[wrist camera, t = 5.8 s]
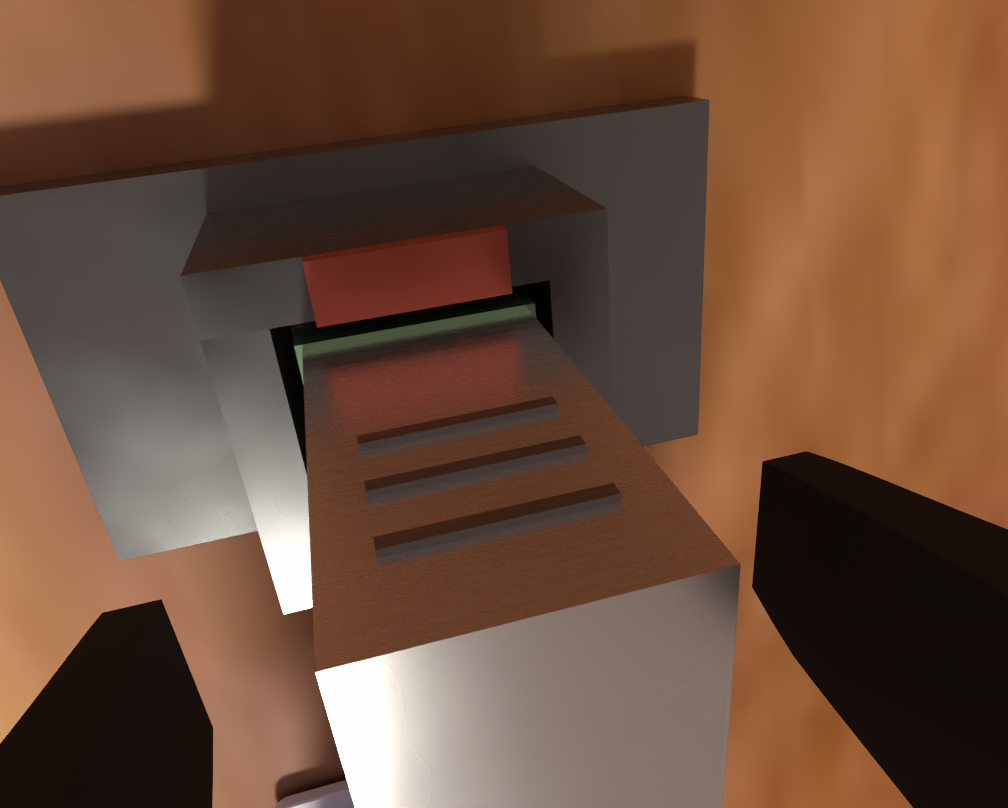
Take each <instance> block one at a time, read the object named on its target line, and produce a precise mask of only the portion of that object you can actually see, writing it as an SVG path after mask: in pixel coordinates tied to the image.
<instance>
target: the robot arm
mask: <svg viewBox="0 0 1008 808" xmlns="http://www.w3.org/2000/svg"><path fill="white" fill-rule="evenodd" d="M752 588H753V589H754V591H755V593H756V594H757V596H758V598H759V600H760V601H761V603H762V605H763V607H764V608H765V610H766V612H767V613H768V615H769V617H770V619H771V620H772V622H773V624H774V626H775V627H776V629H777V630H778V632H779V634H780V635H781V637H782V638H783V640H784V641H785V643H786V645H787V646H788V648H789V649H790V651H791V653H792V654H793V656H794V657H795V659H796V660H797V661H798V662H799V664H800V665H801V666H802V668H803V669H804V670H805V672H806V673H807V674H808V676H809V677H810V678H811V679H812V681H813V682H814V683H815V684H816V686H817V687H818V688H819V690H820V691H821V692H822V693H823V695H824V696H825V697H826V699H827V700H828V701H829V702H830V704H831V705H832V706H833V707H834V709H835V710H836V711H837V713H838V714H839V715H840V716H841V718H842V719H843V720H844V721H845V723H846V724H847V725H848V726H849V728H850V729H851V730H852V731H853V733H854V734H855V735H856V736H857V738H858V739H859V740H860V741H861V743H862V744H863V745H864V746H865V748H866V749H867V750H868V751H869V753H870V754H871V755H872V756H873V758H874V759H875V760H876V761H877V763H878V764H879V765H880V767H881V768H882V769H883V770H884V772H885V773H886V774H887V775H888V777H889V778H890V779H891V780H892V782H893V783H894V784H895V785H896V787H897V788H898V789H899V790H900V792H901V793H902V794H903V795H904V797H905V798H906V799H907V800H908V802H909V803H910V804H911V805H912V807H913V808H1008V530H1007V529H1005V528H1002V527H1000V526H997V525H995V524H992V523H989V522H987V521H984V520H982V519H979V518H977V517H974V516H972V515H969V514H967V513H964V512H962V511H959V510H957V509H954V508H952V507H949V506H947V505H944V504H942V503H939V502H937V501H934V500H932V499H929V498H927V497H925V496H922V495H920V494H917V493H915V492H912V491H910V490H907V489H905V488H902V487H900V486H897V485H895V484H893V483H890V482H888V481H885V480H883V479H880V478H878V477H875V476H873V475H870V474H868V473H865V472H863V471H860V470H857V469H855V468H852V467H850V466H847V465H844V464H842V463H839V462H836V461H834V460H831V459H828V458H825V457H822V456H819V455H816V454H813V453H810V452H807V451H806V452H802V453H797V454H793V455H789V456H784V457H780V458H776V459H771V460H767V461H763V464H762V476H761V488H760V500H759V512H758V524H757V536H756V548H755V560H754V572H753V584H752ZM212 790H213V727H212V724H211V722H210V719H209V717H208V714H207V712H206V709H205V707H204V704H203V702H202V699H201V697H200V694H199V692H198V689H197V687H196V684H195V682H194V679H193V677H192V674H191V672H190V669H189V667H188V664H187V662H186V659H185V657H184V654H183V652H182V649H181V647H180V644H179V642H178V640H177V637H176V635H175V632H174V630H173V627H172V625H171V622H170V620H169V617H168V615H167V612H166V610H165V607H164V605H163V602H162V600H157V601H152V602H148V603H143V604H139V605H135V606H130V607H126V608H122V609H117V610H113V611H109V612H104V613H102V614H101V615H100V616H99V618H98V619H97V620H96V621H95V622H94V624H93V625H92V626H91V627H90V629H89V630H88V631H87V632H86V634H85V635H84V636H83V638H82V639H81V640H80V642H79V643H78V644H77V645H76V647H75V648H74V649H73V651H72V652H71V653H70V655H69V656H68V657H67V658H66V660H65V661H64V662H63V664H62V665H61V666H60V668H59V669H58V670H57V672H56V673H55V674H54V675H53V677H52V678H51V679H50V681H49V682H48V683H47V685H46V686H45V687H44V689H43V690H42V691H41V692H40V694H39V695H38V696H37V698H36V699H35V700H34V702H33V703H32V704H31V705H30V707H29V708H28V709H27V711H26V712H25V713H24V714H23V716H22V717H21V718H20V720H19V721H18V722H17V723H16V725H15V726H14V727H13V728H12V730H11V731H10V732H9V734H8V735H7V736H6V737H5V739H4V740H3V741H2V742H1V744H0V808H212ZM275 808H355V807H354V803H353V800H352V796H351V793H350V790H349V786H348V783H347V780H344V781H340V782H337V783H333V784H330V785H326V786H322V787H319V788H315V789H312V790H308V791H305V792H301V793H298V794H294V795H290V796H288V797H285V798H283V799H282V800H281V801H279V802H278V803H277V805H276V807H275Z"/></svg>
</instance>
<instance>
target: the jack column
mask: <svg viewBox="0 0 1008 808" xmlns="http://www.w3.org/2000/svg"><path fill="white" fill-rule="evenodd" d="M294 348H295V352H296V356H297V361H298V365H299V369H300V373H301V377H302V381H303V385H304V409H305V434H306V458H307V483H308V508H309V532H310V557H311V582H312V607H313V631H314V656H315V674H316V677H317V680H318V684H319V687H320V691H321V694H322V697H323V701H324V704H325V708H326V711H327V714H328V718H329V721H330V725H331V728H332V732H333V735H334V738H335V742H336V745H337V749H338V752H339V755H340V759H341V762H342V766H343V769H344V772H345V776H346V779H347V783H348V786H349V790H350V793H351V796H352V800H353V803H354V807H355V808H723V799H724V785H725V771H726V757H727V743H728V730H729V716H730V702H731V688H732V674H733V661H734V647H735V633H736V619H737V605H738V592H739V578H740V563H739V562H738V561H737V559H736V558H735V557H734V556H733V555H732V553H731V552H730V551H729V550H728V549H727V547H726V546H725V545H724V544H723V543H722V541H721V540H720V539H719V538H718V537H717V535H716V534H715V533H714V532H713V530H712V529H711V528H710V527H709V526H708V524H707V523H706V522H705V521H704V520H703V518H702V517H701V516H700V515H699V514H698V512H697V511H696V510H695V509H694V508H693V506H692V505H691V504H690V503H689V502H688V500H687V499H686V498H685V497H684V496H683V494H682V493H681V492H680V491H679V490H678V488H677V487H676V486H675V485H674V484H673V482H672V481H671V480H670V479H669V477H668V476H667V475H666V474H665V473H664V471H663V470H662V469H661V468H660V467H659V465H658V464H657V463H656V462H655V461H654V459H653V458H652V457H651V456H650V455H649V453H648V452H647V451H646V450H645V449H644V447H643V446H642V445H641V444H640V443H639V441H638V440H637V439H636V438H635V437H634V435H633V434H632V433H631V432H630V431H629V429H628V428H627V427H626V426H625V425H624V423H623V422H622V421H621V420H620V418H619V417H618V416H617V415H616V414H615V412H614V411H613V410H612V409H611V408H610V406H609V405H608V404H607V403H606V402H605V400H604V399H603V398H602V397H601V396H600V394H599V393H598V392H597V391H596V390H595V388H594V387H593V386H592V385H591V384H590V382H589V381H588V380H587V379H586V378H585V376H584V375H583V374H582V373H581V372H580V370H579V369H578V368H577V367H576V365H575V364H574V363H573V362H572V361H571V359H570V358H569V357H568V356H567V355H566V353H565V352H564V351H563V350H562V349H561V347H560V346H559V345H558V344H557V343H556V341H555V340H554V339H553V338H552V337H551V335H550V334H549V333H548V332H547V331H546V329H545V328H544V327H543V326H542V325H541V323H540V322H539V321H538V320H537V319H536V309H535V303H534V301H533V300H532V299H531V298H530V297H529V296H528V295H527V293H526V292H525V291H524V290H519V291H513V290H512V294H507V295H501V296H495V297H490V298H484V299H478V300H472V301H467V302H461V303H455V304H450V305H444V306H438V307H432V308H427V309H421V310H415V311H410V312H404V313H398V314H392V315H387V316H381V317H375V318H370V319H364V320H358V321H352V322H347V323H341V324H335V325H330V326H324V327H318V328H317V325H316V321H312V322H306V323H301V329H296V330H294Z"/></svg>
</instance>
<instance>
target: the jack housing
mask: <svg viewBox="0 0 1008 808" xmlns="http://www.w3.org/2000/svg"><path fill="white" fill-rule="evenodd" d="M708 123H709V100H706V99H700V98H695V97H690V96H683V97H676V98H668V99H661V100H653V101H646V102H638V103H631V104H623V105H616V106H608V107H600V108H593V109H585V110H578V111H570V112H563V113H555V114H548V115H540V116H533V117H525V118H518V119H510V120H503V121H495V122H488V123H480V124H473V125H465V126H457V127H450V128H442V129H435V130H427V131H420V132H412V133H405V134H397V135H390V136H382V137H375V138H367V139H360V140H352V141H345V142H337V143H330V144H322V145H315V146H307V147H299V148H292V149H284V150H277V151H269V152H262V153H254V154H247V155H239V156H232V157H224V158H217V159H209V160H202V161H194V162H187V163H179V164H172V165H164V166H157V167H149V168H141V169H134V170H126V171H119V172H111V173H104V174H96V175H89V176H81V177H74V178H66V179H59V180H51V181H44V182H36V183H29V184H21V185H14V186H6V187H0V280H1V282H2V285H3V287H4V289H5V292H6V294H7V296H8V299H9V301H10V304H11V306H12V308H13V311H14V313H15V315H16V318H17V320H18V322H19V325H20V327H21V330H22V332H23V334H24V337H25V339H26V341H27V344H28V346H29V348H30V351H31V353H32V356H33V358H34V360H35V363H36V365H37V367H38V370H39V372H40V374H41V377H42V379H43V382H44V384H45V386H46V389H47V391H48V393H49V396H50V398H51V400H52V403H53V405H54V408H55V410H56V412H57V415H58V417H59V419H60V422H61V424H62V426H63V429H64V431H65V434H66V436H67V438H68V441H69V443H70V445H71V448H72V450H73V452H74V455H75V457H76V460H77V462H78V464H79V467H80V469H81V471H82V474H83V476H84V478H85V481H86V483H87V486H88V488H89V490H90V493H91V495H92V497H93V500H94V502H95V504H96V507H97V509H98V512H99V514H100V516H101V519H102V521H103V523H104V526H105V528H106V530H107V533H108V535H109V538H110V540H111V542H112V545H113V547H114V549H115V552H116V554H117V556H118V559H119V561H122V560H126V559H131V558H135V557H140V556H144V555H149V554H154V553H158V552H163V551H167V550H172V549H176V548H181V547H185V546H190V545H195V544H199V543H204V542H208V541H213V540H217V539H222V538H227V537H231V536H236V535H240V534H245V533H249V532H254V531H258V533H259V536H260V539H261V542H262V546H263V549H264V552H265V555H266V559H267V562H268V565H269V569H270V572H271V575H272V578H273V582H274V585H275V588H276V591H277V595H278V598H279V601H280V605H281V608H282V611H283V614H288V613H292V612H296V611H301V610H305V609H309V608H313V607H312V582H311V557H310V532H309V508H308V483H307V458H306V434H305V409H304V385H303V381H302V377H301V373H300V369H299V365H298V361H297V356H296V352H295V348H294V330H296V329H301V323H306V322H312V321H316V325H317V328H318V327H324V326H330V325H335V324H341V323H347V322H352V321H358V320H364V319H370V318H375V317H381V316H387V315H392V314H398V313H404V312H410V311H415V310H421V309H427V308H432V307H438V306H444V305H450V304H455V303H461V302H467V301H472V300H478V299H484V298H490V297H495V296H501V295H507V294H512V290H513V291H519V290H524V291H525V292H526V293H527V295H528V296H529V297H530V298H531V299H532V300H533V301H534V303H535V309H536V319H537V320H538V321H539V322H540V323H541V325H542V326H543V327H544V328H545V329H546V331H547V332H548V333H549V334H550V335H551V337H552V338H553V339H554V340H555V341H556V343H557V344H558V345H559V346H560V347H561V349H562V350H563V351H564V352H565V353H566V355H567V356H568V357H569V358H570V359H571V361H572V362H573V363H574V364H575V365H576V367H577V368H578V369H579V370H580V372H581V373H582V374H583V375H584V376H585V378H586V379H587V380H588V381H589V382H590V384H591V385H592V386H593V387H594V388H595V390H596V391H597V392H598V393H599V394H600V396H601V397H602V398H603V399H604V400H605V402H606V403H607V404H608V405H609V406H610V408H611V409H612V410H613V411H614V412H615V414H616V415H617V416H618V417H619V418H620V420H621V421H622V422H623V423H624V425H625V426H626V427H627V428H628V429H629V431H630V432H631V433H632V434H633V435H634V437H635V438H636V439H637V440H638V441H639V443H640V444H641V445H642V446H647V445H652V444H656V443H661V442H665V441H670V440H675V439H679V438H684V437H688V436H693V435H697V434H698V412H699V383H700V354H701V325H702V297H703V268H704V239H705V210H706V181H707V152H708Z"/></svg>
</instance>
